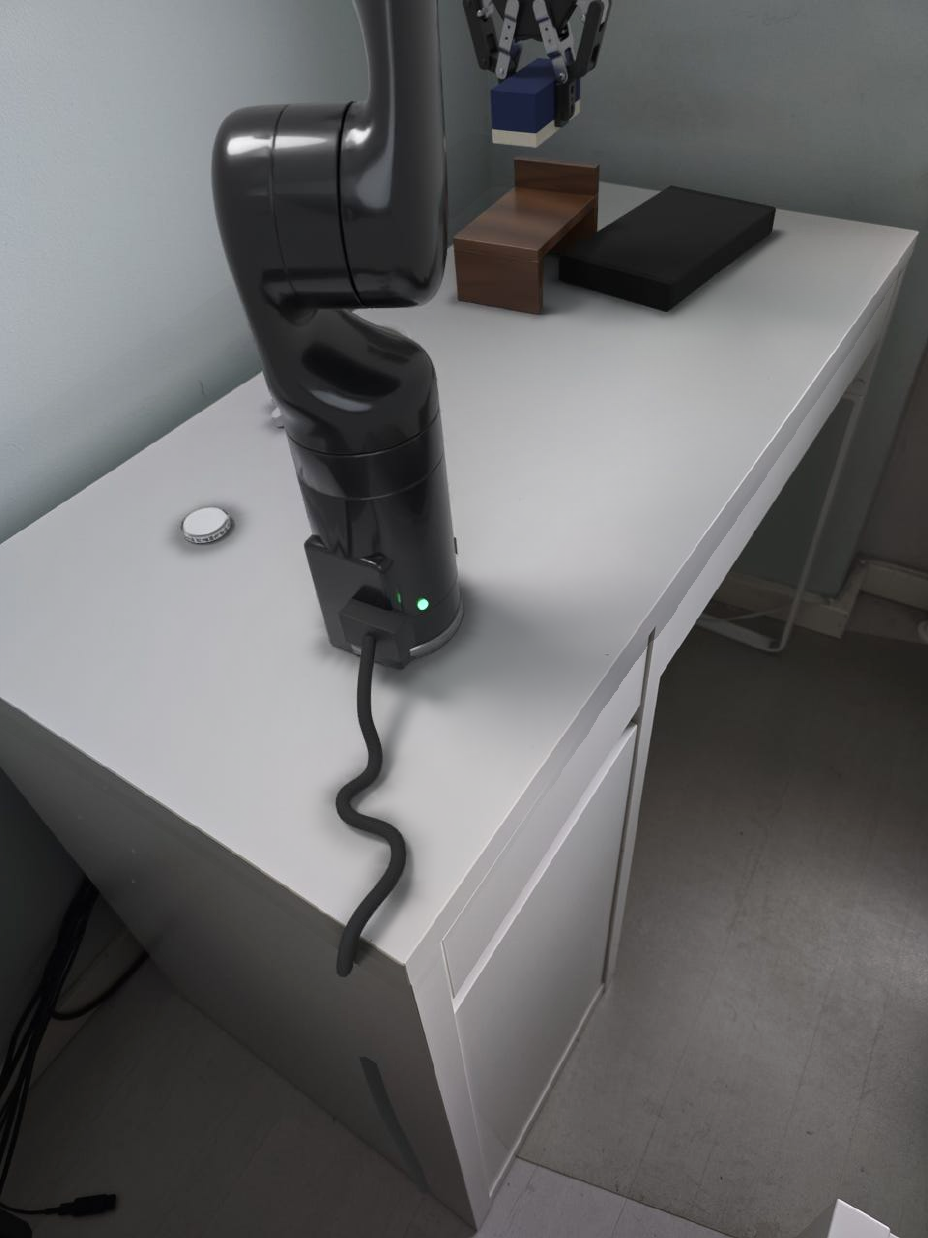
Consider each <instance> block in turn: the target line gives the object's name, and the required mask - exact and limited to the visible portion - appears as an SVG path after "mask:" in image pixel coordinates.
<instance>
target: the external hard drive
mask: <svg viewBox="0 0 928 1238" xmlns="http://www.w3.org/2000/svg"><path fill="white" fill-rule="evenodd" d="M776 213H777V208H776V206H772V205H767V204H763V203H758V202H753V201H749V200H743V199H738V198H734V197H728V196H725V195H719V194H714V193H710V192H705V191H701V190H695V189H691V188H686V187H681V186H676V185H669V186H667V187H666V188H664V189H662V190H661V191H659V192H658V193H656V194H655V195H653V196H651V197H650V198H648V199H647V200H645V201H644V202H642V203H641V204H639V205H637V206H635V207H634V208H632V209H631V210H629V211H627V212H626V213H625V214H623V215H622V216H620V217H618V218H617V219H615V220H613V221H612V222H610V223H608V224H607V225H606V226H604V227H603V228H601V229H599V230H597V232H596V233H594V234H593V235H591V236H590V237H588V238H586V239H585V240H583V241H582V242H580V243H579V244H577V245H575V246H574V247H572V248H571V249H569V250H567V251H566V252H564V253H563V254H562V253H560V254H559V255H558V280H559V281H560V282H562V283H564V284H565V283H566V284H568V285H569V284H570V285H573V286H576V287H579V288H583V289H586V290H590V291H593V292H596V293H600V294H603V295H607V296H610V297H614V298H617V299H620V300H624V301H627V302H631V303H634V304H637V305H641V306H645V307H648V308H651V309H655V310H658V311H662V312H665V313H667V312H669V311H670V310H672V309H673V308H674V307H675V306H677V305H678V304H679V303H681V302H682V301H683V300H685V299H686V298H688V297H689V296H690V295H692V293H694V292H695V291H696V290H698V289H699V288H700V287H702V286H703V285H704V284H706V283H707V282H708V281H710V280H711V279H712V278H713V277H715V276H716V275H718V273H720V272H721V271H723V270H724V269H725V268H726V267H728V266H729V265H730V264H732V263H734V262H735V261H736V260H737V259H738V258H740V257H741V256H743V255H744V254H745V253H747V252H748V251H749V250H750V249H752V248H753V247H754V246H755V245H757V244H758V243H760V242H761V241H762V240H763V239H765V238H766V237H767V236H768V235H770V234H771V233H772V232H773V229H774V224H775V217H776Z"/></svg>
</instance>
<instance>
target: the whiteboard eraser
mask: <svg viewBox="0 0 928 1238" xmlns="http://www.w3.org/2000/svg"><path fill="white" fill-rule="evenodd" d="M555 83H557V80H556V77H555V73H554V69H553V66H552V62H551V59H550V58H544V57H543V58H542V57H536V59H534V60H532V61H531V62H530V63H528V64H526V65H525V66H523V67H522V68H520V69H519V70H517V71H516V73H515V74H513V75H512V76H510V77H509V78H507V79H506V80H504V81H503V82H501V83H500V84H498V83H497V85H496V86H494V87H492V88H491V89H490V91H489V93H490V95H489V96H490V113H491V133H492V134H491V137H492V144H496V145H497V144H499V145H507V146H516V147H523V148H524V147H525V148H526V147H527V148H533V149H537V148H538V147H540V146H541V145H542V144H543V143H544V142H546V141H547V140H548V139H549V138H551V137H552V136H553V135H554V134H556V132H558V131H559V130H560V129H561V128H560V127H555V126H554V84H555ZM580 112H581V78H579V77H578V78H576V83H575V112H574V115H573V117H572V118H570V119H569V122H570V121H571V120H573V119H575V117H577V116H578V115H579V114H580Z"/></svg>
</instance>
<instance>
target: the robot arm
mask: <svg viewBox="0 0 928 1238" xmlns="http://www.w3.org/2000/svg"><path fill="white" fill-rule="evenodd" d="M350 1H351V3H352V6H353V9H354V12H355V14H356V16H357V20H358V23H359V28H360V32H361V35H362V39H363V45H364V51H365V57H366V63H367V73H368V74H367V75H368V93H367V97H366V99H358V100H339V101H338V100H337V101H318V102H317V101H316V102H295V103H294V102H293V103H274V104H273V103H272V104H271V103H270V104H258V105H248V106H244V107H241V108H237V109H235V110H234V111H232V112H230V113H229V114H228V115H226V116H225V118H224V119H223V121H222V122H221V123H220V125H219V127H218V128H217V132H216V134H215V137H214V140H213V144H212V150H211V160H210V182H211V183H210V184H211V194H212V195H211V196H212V205H213V211H214V215H215V221H216V225H217V230H218V234H219V239H220V241H221V242H220V243H221V247H222V250H223V253H224V256H225V260H226V264H227V267H228V270H229V273H230V276H231V279H232V282H233V285H234V288H235V291H236V295H237V298H238V300H239V303H240V306H241V309H242V313H243V314H244V317H245V320H246V321H245V322H246V324H247V326H248V329H249V332H250V337H251V339H252V342H253V345H254V348H255V351H256V354H257V358H258V363H259V364H260V368H261V371H262V375H263V378H264V381H265V385H266V388H267V390H268V393H269V395H271V397H272V398H273V400H274V402H275V404H276V405H277V407H278V408H279V410H280V413H281V417H282V421H283V425H284V426H283V427H284V432H285V435H286V440H287V443H288V446H289V450H290V454H291V458H292V461H293V465H294V466H293V467H294V470H295V474H296V478H297V481H298V486H299V490H300V494H301V497H302V501H303V505H304V508H305V511H306V516H307V520H308V524H309V528H310V532H311V534H310V536H309V537H308V538H307V539H306V540H305V541H304V542H303V549H304V553H305V556H306V560H307V564H308V568H309V573H310V575H311V578H312V582H313V585H314V589H315V593H316V597H317V600H318V604H319V608H320V612H321V615H322V619H323V623H324V626H325V630H326V634H327V637H328V641H329V644H330V645H332V646H335V647H338V648H341V649H343V650H346V651H348V652H351V653H353V654H356V655H358V656H359V666H358V673H357V682H356V683H357V684H356V687H357V688H356V713H357V714H356V715H357V720H358V725H359V728H360V731H361V734H362V736H363V737H362V738H363V739H364V742H365V746H366V749H367V757H368V759H367V765H366V768H365V770H363V771H362V773H360V774H359V775H358V776H357V777H355V778H354V779H352V780H350V781H349V782H347V783H346V784H344V785H343V786H342V788H340V790H339V791H338V792H337V794H336V797H335V810H336V813H337V815H338V817H339V818H340V820H341V821H342V822H344V823H345V824H346V825H347V826H350V827H352V828H355V829H357V830H359V831H363V832H366V833H370V834H372V835H375V836H378V837H380V838H382V839H383V840H385V841H386V842H387V843H388V846H389V848H390V859H389V862H388V866H387V867H386V869H385V872H384V873H383V875H382V876H381V877H380V879H379V880H378V881H377V883H376V884H375V885H374V886H373V887H372V889H371V890H370V891H369V892H368V893H367V894H366V895H365V897H364V898H363V899H362V901H361V902H360V903H359V905H358V906H357V907H356V909H355V910H354V911H353V913H352V915H350V918H349V919H348V921H347V923H346V925H345V928H344V930H343V931H342V934H341V938H340V941H339V945H338V951H337V956H336V963H335V964H336V966H335V968H336V974H337V975H338V976H339V977H340V978H346V977H348V976H349V975H350V974H351V972H352V970H353V968H354V962H355V956H356V950H357V946H358V942H359V940H360V937H361V935H362V933H363V931H364V929H365V927H366V925H367V924H368V922H369V921H370V919H371V918H372V916H373V915H374V914H375V913H376V911H377V910H378V909H379V907H381V905H382V904H383V902H384V901H385V900H386V899H387V898H388V897H389V895H390V894H391V893H392V892H393V890H394V889H395V887H396V886H397V884H398V883H399V882H400V879H401V877H402V876H403V873H404V870H405V868H406V861H407V847H406V841H405V839H404V836H403V834H402V833H401V831H400V830H398V828H397V827H395V826H394V825H392V824H390V823H388V822H386V821H385V820H383V819H382V820H381V819H378V818H375V817H372V816H369V815H366V814H363V813H360V812H359V811H356V810H355V809H354V808H353V807H352V806H351V802H352V799H354V798H355V796H357V795H358V794H360V793H361V792H363V791H364V790H365V789H367V788H369V787H370V786H371V785H373V783H374V782H375V781H376V780H377V778H378V777H379V775H380V773H381V770H382V767H383V760H384V755H383V754H384V753H383V746H382V743H381V739H380V736H379V733H378V730H377V728H376V725H375V722H374V718H373V711H372V710H373V709H372V685H373V684H372V683H373V673H374V663H375V662H378V663H379V664H383V665H385V666H388V667H390V668H393V669H396V670H399V671H400V670H403V669H405V668H406V666H407V665H408V664H409V663H410V662H411V660H414V659H418V658H421V657H423V656H426V655H429V654H431V653H432V652H435V651H436V650H438V649H439V648H441V647H442V646H443V645H445V644H446V643H447V642H448V641H449V640H450V639H451V638H452V637H454V634H455V633H457V630H458V629H459V627H460V625H461V622H462V620H463V615H464V603H463V595H462V591H461V588H460V580H459V572H458V570H459V569H458V563H457V556H458V555H459V553H458V542H457V537H455V535H454V526H453V519H452V518H453V517H452V516H453V515H452V508H451V499H450V498H451V497H450V489H449V482H448V481H449V480H448V479H449V478H448V471H447V462H446V452H445V444H444V443H445V442H444V441H445V440H444V432H443V424H442V415H441V405H440V395H439V386H438V385H439V384H438V377H437V372H436V368H435V365H434V363H433V360H432V358H431V357H430V355H429V353H428V352H427V350H425V348H423V346H421V345H420V344H419V343H418V342H416V341H415V340H414V339H411V338H410V337H408V336H406V335H404V334H402V333H400V332H397V331H394V330H391V329H389V328H386V327H384V326H381V325H378V324H376V323H373V322H371V321H369V320H367V319H365V318H363V317H361V316H359V315H357V314H356V313H354V312H352V311H351V310H367V309H370V310H371V309H372V310H373V309H408V308H409V309H411V308H416V307H423V306H425V305H427V304H428V303H430V302H431V301H432V300H433V299H434V298H435V297H436V296H437V293H438V292H439V290H440V288H441V284H442V281H443V278H444V275H445V269H446V263H447V257H448V247H449V228H450V227H449V225H450V224H449V222H450V221H449V219H450V215H449V214H450V213H449V212H450V209H449V208H450V207H449V186H448V185H449V183H448V159H447V157H448V156H447V140H446V125H445V123H446V122H445V110H444V109H445V106H444V105H445V104H444V90H443V89H444V86H443V71H442V70H443V69H442V53H441V52H442V51H441V36H440V19H439V18H440V15H439V0H350ZM612 5H613V0H462V7H463V12H464V15H465V19H466V23H467V26H468V30H469V33H470V38H471V42H472V44H473V50H474V53H475V57H476V60H477V64H478V67H479V69H481V70H482V71H487V70H488V71H489V72H491V73H493V74H494V75H495V76H496V78H497V85H498V84H500V83H501V82H503V81H504V80H506V79H507V78H509V77H510V76H512V75H513V74H515V73H516V72H517V71H518V68H519V65H520V60H521V56H522V52H523V48H524V47H525V45H526V43H527V40H530V39H532V40H534V41H537V42H540V43H543V46H544V49H545V54H546V55H547V57H548V59H551V62H552V66H553V69H554V73H555V77H556V80H557V83H555V84H554V126H555V127H560V129H562V128H564V127H565V126H566V125H568V124H569V123H570V121H569V119H570V118H572V117H573V115H574V112H575V83H576V78H578V77H579V78H580V79H581V78H584V77H585V76H586V75H587V74H588V73H589V72H591V71H592V70H594V69H595V68H596V66H597V65H598V60H599V56H600V51H601V49H602V44H603V41H604V36H605V32H606V29H607V25H608V21H609V16H610V13H611V9H612ZM577 7H578V8H579V10H580V11H579V12H580V14H579V18H580V21H581V23H582V24H583V28H582V32H581V36H580V40H579V45H578V49H577V53H576V52H575V48H574V44H575V38H574V37H575V36H574V33H573V30H572V26H571V25H572V24H571V22H570V19H571V18H572V16H573V14H574V13H575V11H576V9H577ZM494 8H495V9H496V12H497V13H498V16H499V17H500V19H501V20H502V22H503V24H502V28H501V34H500V37H499V40H498V36H497V31H496V28H495V24H494V20H493V18H492V15H493V14H494ZM358 1058H359V1062H360V1064H361V1068H362V1071H363V1075H364V1077H365V1080H366V1084H367V1087H368V1089H369V1091H370V1094H371V1097H372V1099H373V1102H374V1104H375V1106H376V1109H377V1112H378V1113H379V1115H380V1118H381V1120H382V1122H383V1124H384V1127H385V1128H386V1130H387V1132H388V1134H389V1136H390V1138H391V1139H392V1141H393V1144H394V1145H395V1147H396V1149H397V1150H398V1152H399V1154H400V1155H401V1158H402V1159H403V1161H404V1163H405V1165H406V1166H407V1168H408V1171H409V1173H410V1174H411V1176H412V1178H413V1181H414V1182H415V1184H416V1185H415V1186H416V1187H417V1189H418V1191H419V1193H420V1194H421V1195H426V1194H428V1193H429V1191H430V1185H429V1182H428V1180H427V1177H426V1174H425V1172H424V1170H423V1168H422V1165H421V1164H420V1161H419V1159H418V1157H417V1155H416V1153H415V1152H414V1149H413V1147H412V1145H411V1143H410V1140H409V1139H408V1138H407V1137H408V1136H407V1135H406V1134H405V1131H404V1129H403V1127H402V1125H401V1123H400V1121H399V1119H398V1117H397V1114H396V1112H395V1110H394V1108H393V1105H392V1103H391V1100H390V1098H389V1095H388V1092H387V1090H386V1087H385V1084H384V1081H383V1077H382V1075H381V1071H380V1069H379V1065H378V1063H377V1062H375V1061H373V1060H372V1059H370V1058H368V1057H366V1056H358Z"/></svg>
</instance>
